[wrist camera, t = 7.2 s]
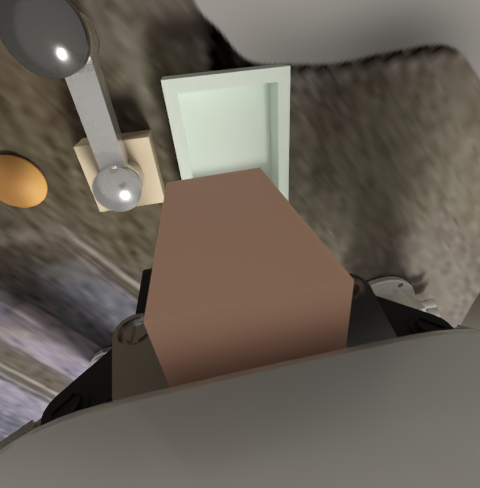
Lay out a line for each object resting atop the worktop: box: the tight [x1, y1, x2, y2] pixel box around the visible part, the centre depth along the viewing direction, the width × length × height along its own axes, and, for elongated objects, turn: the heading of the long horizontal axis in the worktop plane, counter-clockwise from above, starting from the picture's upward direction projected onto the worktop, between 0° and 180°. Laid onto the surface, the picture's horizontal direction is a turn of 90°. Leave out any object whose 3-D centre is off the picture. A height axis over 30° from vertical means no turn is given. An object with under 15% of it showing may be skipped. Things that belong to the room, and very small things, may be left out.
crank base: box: [0, 129, 166, 212], centre depth 26 cm, size 16×6×3 cm, turn 95°
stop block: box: [143, 168, 354, 387], centre depth 10 cm, size 4×6×8 cm, turn 6°
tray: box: [161, 64, 290, 200], centre depth 27 cm, size 10×12×4 cm
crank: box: [0, 0, 144, 212], centre depth 20 cm, size 14×4×6 cm, turn 5°
